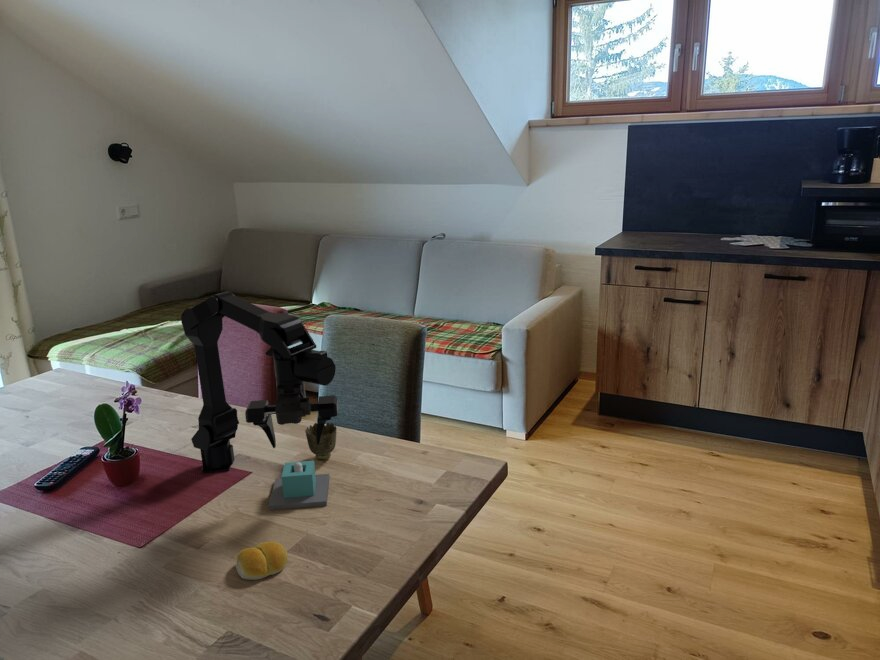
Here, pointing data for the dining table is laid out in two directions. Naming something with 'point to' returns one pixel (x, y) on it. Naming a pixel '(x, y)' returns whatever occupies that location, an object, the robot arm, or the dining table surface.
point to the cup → (322, 441)
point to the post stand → (304, 501)
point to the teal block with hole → (299, 480)
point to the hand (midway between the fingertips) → (296, 445)
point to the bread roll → (261, 560)
